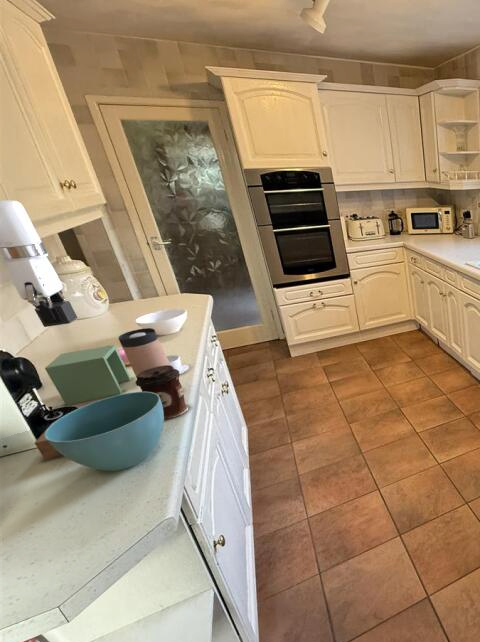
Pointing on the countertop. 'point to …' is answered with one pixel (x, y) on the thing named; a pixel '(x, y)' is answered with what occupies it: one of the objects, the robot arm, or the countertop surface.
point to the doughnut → (124, 357)
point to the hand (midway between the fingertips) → (59, 318)
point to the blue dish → (110, 431)
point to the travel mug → (143, 349)
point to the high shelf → (88, 374)
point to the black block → (61, 313)
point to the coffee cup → (164, 388)
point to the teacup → (177, 363)
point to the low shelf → (47, 448)
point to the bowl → (163, 321)
